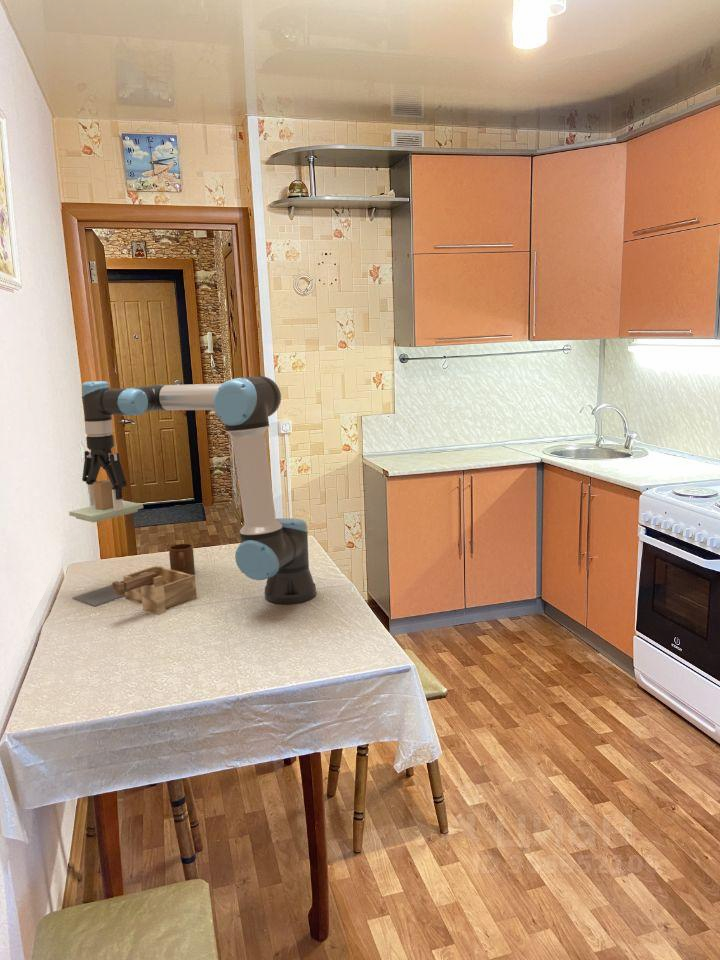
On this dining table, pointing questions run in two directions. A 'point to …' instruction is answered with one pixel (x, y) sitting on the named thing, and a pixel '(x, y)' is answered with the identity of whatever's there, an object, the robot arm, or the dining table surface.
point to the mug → (182, 558)
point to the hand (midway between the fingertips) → (106, 507)
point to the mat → (98, 596)
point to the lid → (104, 505)
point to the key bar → (133, 583)
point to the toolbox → (163, 589)
